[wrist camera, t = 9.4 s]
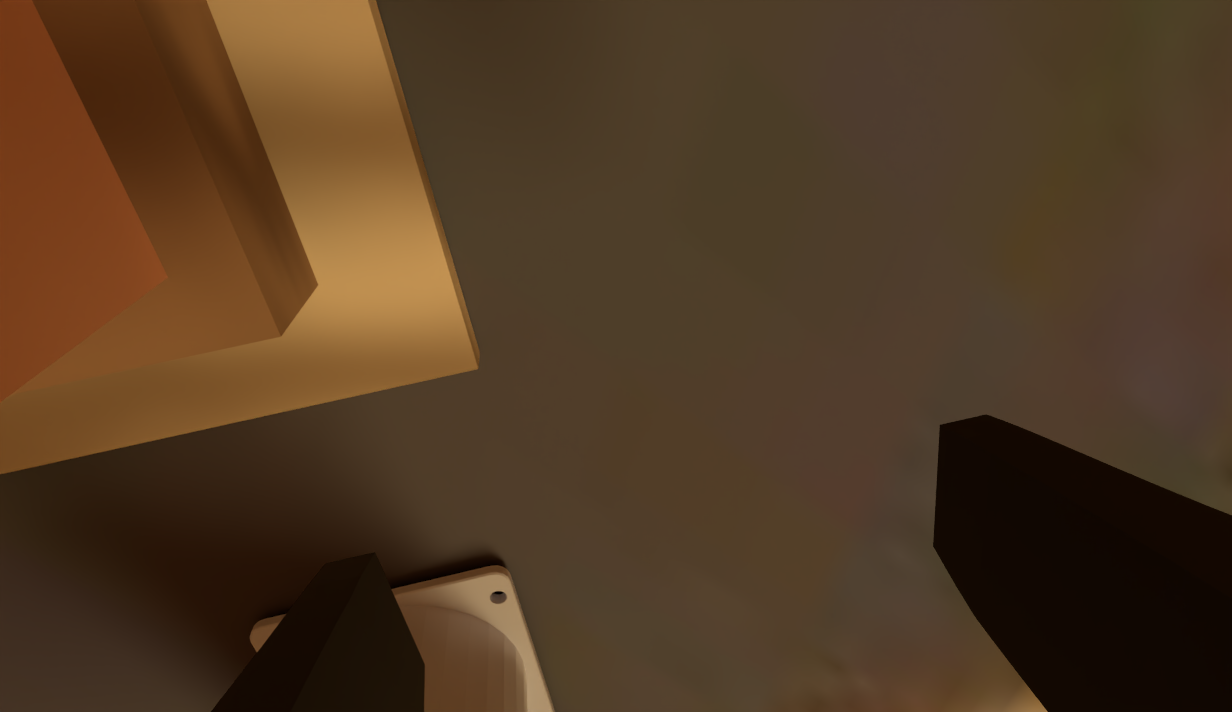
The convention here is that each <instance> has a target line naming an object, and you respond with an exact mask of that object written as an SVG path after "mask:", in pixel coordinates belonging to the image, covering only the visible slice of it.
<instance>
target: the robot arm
mask: <svg viewBox="0 0 1232 712" xmlns="http://www.w3.org/2000/svg"><path fill="white" fill-rule="evenodd" d="M933 547H934V548H935V550H936V552H937V554H938V555H939V557H940V559H941V561H942V562H943V564H944V566H945V568H946V569H947V571H948V573H949V574H950V576H951V578H952V580H953V581H954V583H955V585H956V587H957V588H958V590H959V591H960V593H961V595H962V596H963V598H964V600H965V601H966V603H967V604H968V606H969V608H970V609H971V611H972V612H973V614H974V616H975V617H976V619H977V620H978V621H979V623H980V624H981V625H982V627H983V628H984V629H985V631H986V632H987V633H988V635H989V636H990V637H991V639H992V640H993V641H994V643H995V644H996V645H997V647H998V648H999V649H1000V650H1001V652H1002V653H1003V654H1004V656H1005V657H1006V658H1007V660H1008V661H1009V662H1010V663H1011V665H1012V666H1013V667H1014V669H1015V670H1016V671H1017V673H1018V674H1019V675H1020V677H1021V678H1022V679H1023V680H1024V682H1025V683H1026V684H1027V686H1028V687H1029V688H1030V689H1031V691H1032V692H1033V693H1034V694H1035V696H1036V697H1037V698H1038V700H1039V701H1040V702H1041V703H1042V705H1043V706H1044V707H1045V709H1046V710H1047V711H1048V712H1232V515H1229V514H1227V513H1224V512H1222V511H1219V510H1216V509H1214V508H1211V507H1209V506H1206V505H1204V504H1201V503H1199V502H1197V501H1194V500H1192V499H1189V498H1187V497H1184V496H1182V495H1179V494H1177V493H1175V492H1172V491H1170V490H1167V489H1165V488H1162V487H1160V486H1158V485H1155V484H1153V483H1150V482H1148V481H1146V480H1143V479H1141V478H1139V477H1136V476H1134V475H1132V474H1129V473H1127V472H1124V471H1122V470H1120V469H1117V468H1115V467H1113V466H1110V465H1108V464H1106V463H1103V462H1101V461H1099V460H1096V459H1094V458H1092V457H1089V456H1087V455H1085V454H1082V453H1080V452H1078V451H1075V450H1073V449H1071V448H1068V447H1066V446H1064V445H1061V444H1059V443H1057V442H1054V441H1052V440H1050V439H1047V438H1045V437H1042V436H1040V435H1038V434H1035V433H1033V432H1030V431H1028V430H1026V429H1023V428H1021V427H1018V426H1016V425H1013V424H1011V423H1008V422H1005V421H1003V420H1000V419H997V418H995V417H992V416H989V415H982V416H977V417H973V418H969V419H964V420H960V421H955V422H951V423H946V424H942V425H940V433H939V451H938V470H937V488H936V506H935V524H934V542H933ZM496 591H502V592H504V593H502V594H497V595H496V594H494V593H493V592H496ZM249 638H250V642H251V644H252V645H253V647H254V649H255V650H256V652H257V653H256V655H255V656H254V657H253V658H252V660H251V661H250V662H249V664H248V665H247V666H246V667H245V669H244V670H243V671H242V673H241V674H240V675H239V676H238V678H237V679H236V680H235V682H234V683H233V684H232V685H231V687H230V688H229V689H228V691H227V692H226V693H225V694H224V696H223V697H222V698H221V700H220V701H219V702H218V703H217V705H216V706H215V707H214V709H213V710H212V711H211V712H555V710H554V707H553V704H552V701H551V698H550V695H549V691H548V688H547V685H546V682H545V679H544V676H543V673H542V670H541V667H540V664H539V661H538V658H537V655H536V652H535V648H534V645H533V642H532V639H531V636H530V633H529V630H528V627H527V624H526V621H525V618H524V615H523V612H522V609H521V605H520V602H519V599H518V596H517V593H516V590H515V587H514V584H513V581H512V578H511V575H510V573H509V571H508V570H507V569H506V568H504V567H502V566H498V565H494V566H487V567H483V568H479V569H475V570H470V571H466V572H462V573H458V574H453V575H449V576H445V577H441V578H436V579H432V580H428V581H424V582H419V583H415V584H411V585H407V586H402V587H398V588H394V589H391V587H390V585H389V583H388V580H387V578H386V576H385V574H384V571H383V569H382V567H381V565H380V562H379V560H378V558H377V556H376V553H375V552H374V553H370V554H366V555H361V556H357V557H352V558H348V559H343V560H339V561H334V562H330V563H326V564H325V565H324V566H323V567H322V569H321V570H320V571H319V572H318V574H317V575H316V576H315V577H314V578H313V580H312V581H311V582H310V584H309V585H308V586H307V587H306V589H305V590H304V591H303V593H302V594H301V595H300V597H299V598H298V599H297V600H296V602H295V603H294V604H293V606H292V607H291V608H290V610H289V611H288V612H287V614H283V615H279V616H275V617H271V618H266V619H263V620H260V621H258V622H257V623H256V624H255V625H254V627H253V629H252V631H251V634H250V637H249Z"/></svg>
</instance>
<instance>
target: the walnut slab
mask: <svg viewBox="0 0 1232 712" xmlns="http://www.w3.org/2000/svg"><path fill="white" fill-rule="evenodd" d="M32 1H33V3H34V5H35V7H36V9H37V11H38V14H39V16H40V18H41V20H42V22H43V24H44V26H45V28H46V30H47V32H48V34H49V36H50V38H51V40H52V42H53V44H54V46H55V48H56V50H57V52H58V54H59V56H60V58H61V60H62V62H63V64H64V66H65V68H66V71H67V73H68V75H69V77H70V79H71V81H72V83H73V85H74V87H75V89H76V91H77V93H78V95H79V97H80V99H81V101H82V103H83V105H84V107H85V109H86V111H87V113H88V115H89V117H90V119H91V121H92V123H93V125H94V128H95V130H96V132H97V134H98V136H99V138H100V140H101V142H102V144H103V146H104V148H105V150H106V152H107V154H108V156H109V158H110V160H111V162H112V164H113V166H114V168H115V170H116V172H117V174H118V176H119V178H120V180H121V183H122V185H123V187H124V189H125V191H126V193H127V195H128V197H129V199H130V201H131V203H132V205H133V207H134V209H135V211H136V213H137V215H138V217H139V219H140V221H141V223H142V225H143V227H144V229H145V231H146V233H147V235H148V237H149V240H150V242H151V244H152V246H153V248H154V250H155V252H156V254H157V256H158V258H159V260H160V262H161V264H162V266H163V268H164V270H165V272H166V274H167V276H168V278H167V279H165V280H164V281H163V282H161V283H160V284H158V285H157V286H156V287H154V288H153V289H152V290H150V291H149V292H148V293H146V294H145V295H144V296H142V297H141V298H140V299H138V300H137V301H136V302H134V303H133V304H132V305H130V306H129V307H128V308H126V309H125V310H124V311H122V312H121V313H120V314H118V315H117V316H116V317H114V318H113V319H112V320H110V321H109V322H107V323H106V324H105V325H103V326H102V327H101V328H99V329H98V330H97V331H95V332H94V333H93V334H91V335H90V336H89V337H87V338H86V339H85V340H83V341H82V342H81V343H79V344H78V345H77V346H75V347H74V348H73V349H71V350H70V351H69V352H67V353H66V354H65V355H63V356H62V357H61V358H59V359H58V360H56V361H55V362H54V363H52V364H51V365H50V366H48V367H47V368H46V369H44V370H43V371H42V372H40V373H39V374H38V375H36V376H35V377H34V378H32V379H31V380H30V381H28V382H27V383H26V384H24V385H23V386H22V387H20V388H19V389H18V390H16V391H15V392H14V393H12V394H17V393H22V392H26V391H31V390H36V389H40V388H45V387H50V386H54V385H59V384H64V383H68V382H73V381H78V380H82V379H87V378H91V377H96V376H101V375H105V374H110V373H115V372H119V371H124V370H129V369H133V368H138V367H143V366H147V365H152V364H157V363H161V362H166V361H170V360H175V359H180V358H184V357H189V356H194V355H198V354H203V353H208V352H212V351H217V350H222V349H226V348H231V347H236V346H240V345H245V344H249V343H254V342H259V341H263V340H268V339H273V338H277V337H281V336H282V335H283V333H284V332H285V331H286V329H287V328H288V326H289V325H290V324H291V322H292V321H293V320H294V318H295V317H296V315H297V314H298V313H299V311H300V310H301V308H302V307H303V306H304V304H305V303H306V302H307V300H308V299H309V297H310V296H311V295H312V293H313V292H314V291H315V289H316V288H317V286H318V283H317V280H316V278H315V275H314V273H313V270H312V268H311V265H310V262H309V260H308V257H307V255H306V252H305V250H304V247H303V245H302V242H301V240H300V237H299V235H298V232H297V229H296V227H295V224H294V222H293V219H292V217H291V214H290V212H289V209H288V207H287V204H286V202H285V199H284V196H283V194H282V191H281V189H280V186H279V184H278V181H277V179H276V176H275V174H274V171H273V169H272V166H271V163H270V161H269V158H268V156H267V153H266V151H265V148H264V146H263V143H262V141H261V138H260V136H259V133H258V130H257V128H256V125H255V123H254V120H253V118H252V115H251V113H250V110H249V108H248V105H247V102H246V100H245V97H244V95H243V92H242V90H241V87H240V85H239V82H238V80H237V77H236V75H235V72H234V69H233V67H232V64H231V62H230V59H229V57H228V54H227V52H226V49H225V47H224V44H223V42H222V39H221V36H220V34H219V31H218V29H217V26H216V24H215V21H214V19H213V16H212V14H211V11H210V9H209V6H208V3H207V1H206V0H32ZM12 394H11V395H12Z"/></svg>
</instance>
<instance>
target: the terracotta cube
mask: <svg viewBox="0 0 1232 712" xmlns="http://www.w3.org/2000/svg"><path fill="white" fill-rule="evenodd" d="M167 278H168V276H167V274H166V272H165V270H164V268H163V266H162V264H161V262H160V260H159V258H158V256H157V254H156V252H155V250H154V248H153V246H152V244H151V242H150V240H149V237H148V235H147V233H146V231H145V229H144V227H143V225H142V223H141V221H140V219H139V217H138V215H137V213H136V211H135V209H134V207H133V205H132V203H131V201H130V199H129V197H128V195H127V193H126V191H125V189H124V187H123V185H122V183H121V180H120V178H119V176H118V174H117V172H116V170H115V168H114V166H113V164H112V162H111V160H110V158H109V156H108V154H107V152H106V150H105V148H104V146H103V144H102V142H101V140H100V138H99V136H98V134H97V132H96V130H95V128H94V125H93V123H92V121H91V119H90V117H89V115H88V113H87V111H86V109H85V107H84V105H83V103H82V101H81V99H80V97H79V95H78V93H77V91H76V89H75V87H74V85H73V83H72V81H71V79H70V77H69V75H68V73H67V71H66V68H65V66H64V64H63V62H62V60H61V58H60V56H59V54H58V52H57V50H56V48H55V46H54V44H53V42H52V40H51V38H50V36H49V34H48V32H47V30H46V28H45V26H44V24H43V22H42V20H41V18H40V16H39V14H38V11H37V9H36V7H35V5H34V3H33V1H32V0H0V402H1V401H3V400H4V399H5V398H7V397H8V396H10V395H11V394H12V393H14V392H15V391H16V390H18V389H19V388H20V387H22V386H23V385H24V384H26V383H27V382H28V381H30V380H31V379H32V378H34V377H35V376H36V375H38V374H39V373H40V372H42V371H43V370H44V369H46V368H47V367H48V366H50V365H51V364H52V363H54V362H55V361H56V360H58V359H59V358H61V357H62V356H63V355H65V354H66V353H67V352H69V351H70V350H71V349H73V348H74V347H75V346H77V345H78V344H79V343H81V342H82V341H83V340H85V339H86V338H87V337H89V336H90V335H91V334H93V333H94V332H95V331H97V330H98V329H99V328H101V327H102V326H103V325H105V324H106V323H107V322H109V321H110V320H112V319H113V318H114V317H116V316H117V315H118V314H120V313H121V312H122V311H124V310H125V309H126V308H128V307H129V306H130V305H132V304H133V303H134V302H136V301H137V300H138V299H140V298H141V297H142V296H144V295H145V294H146V293H148V292H149V291H150V290H152V289H153V288H154V287H156V286H157V285H158V284H160V283H161V282H163V281H164V280H165V279H167Z"/></svg>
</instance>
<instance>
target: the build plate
mask: <svg viewBox="0 0 1232 712" xmlns="http://www.w3.org/2000/svg"><path fill="white" fill-rule="evenodd" d="M206 1H207V3H208V6H209V9H210V11H211V14H212V16H213V19H214V21H215V24H216V26H217V29H218V31H219V34H220V36H221V39H222V42H223V44H224V47H225V49H226V52H227V54H228V57H229V59H230V62H231V64H232V67H233V69H234V72H235V75H236V77H237V80H238V82H239V85H240V87H241V90H242V92H243V95H244V97H245V100H246V102H247V105H248V108H249V110H250V113H251V115H252V118H253V120H254V123H255V125H256V128H257V130H258V133H259V136H260V138H261V141H262V143H263V146H264V148H265V151H266V153H267V156H268V158H269V161H270V163H271V166H272V169H273V171H274V174H275V176H276V179H277V181H278V184H279V186H280V189H281V191H282V194H283V196H284V199H285V202H286V204H287V207H288V209H289V212H290V214H291V217H292V219H293V222H294V224H295V227H296V229H297V232H298V235H299V237H300V240H301V242H302V245H303V247H304V250H305V252H306V255H307V257H308V260H309V262H310V265H311V268H312V270H313V273H314V275H315V278H316V280H317V283H318V286H317V288H316V289H315V291H314V292H313V293H312V295H311V296H310V297H309V299H308V300H307V302H306V303H305V304H304V306H303V307H302V308H301V310H300V311H299V313H298V314H297V315H296V317H295V318H294V320H293V321H292V322H291V324H290V325H289V326H288V328H287V329H286V331H285V332H284V333H283V335H282V336H281V337H277V338H273V339H268V340H263V341H259V342H254V343H249V344H245V345H240V346H236V347H231V348H226V349H222V350H217V351H212V352H208V353H203V354H198V355H194V356H189V357H184V358H180V359H175V360H170V361H166V362H161V363H157V364H152V365H147V366H143V367H138V368H133V369H129V370H124V371H119V372H115V373H110V374H105V375H101V376H96V377H91V378H87V379H82V380H78V381H73V382H68V383H64V384H59V385H54V386H50V387H45V388H40V389H36V390H31V391H26V392H22V393H17V394H12V395H10V396H8V397H7V398H5V399H4V400H3V401H1V402H0V474H4V473H9V472H13V471H18V470H22V469H27V468H31V467H36V466H40V465H45V464H49V463H54V462H59V461H63V460H68V459H72V458H77V457H81V456H86V455H90V454H95V453H99V452H104V451H108V450H113V449H117V448H122V447H126V446H131V445H136V444H140V443H145V442H149V441H154V440H158V439H163V438H167V437H172V436H176V435H181V434H185V433H190V432H194V431H199V430H204V429H208V428H213V427H217V426H222V425H226V424H231V423H235V422H240V421H244V420H249V419H253V418H258V417H262V416H267V415H272V414H276V413H281V412H285V411H290V410H294V409H299V408H303V407H308V406H312V405H317V404H321V403H326V402H330V401H335V400H339V399H344V398H349V397H353V396H358V395H362V394H367V393H371V392H376V391H380V390H385V389H389V388H394V387H398V386H403V385H407V384H412V383H417V382H421V381H426V380H430V379H435V378H439V377H444V376H448V375H453V374H457V373H462V372H466V371H471V370H475V369H478V367H479V354H480V352H479V348H478V345H477V342H476V338H475V335H474V331H473V328H472V325H471V321H470V318H469V314H468V311H467V308H466V304H465V301H464V297H463V294H462V291H461V287H460V284H459V281H458V277H457V274H456V270H455V267H454V264H453V260H452V257H451V253H450V250H449V247H448V243H447V240H446V236H445V233H444V230H443V226H442V223H441V220H440V216H439V213H438V209H437V206H436V203H435V199H434V196H433V192H432V189H431V186H430V182H429V179H428V176H427V172H426V169H425V165H424V162H423V159H422V155H421V152H420V148H419V145H418V142H417V138H416V135H415V131H414V128H413V125H412V121H411V118H410V115H409V111H408V108H407V104H406V101H405V98H404V94H403V91H402V87H401V84H400V81H399V77H398V74H397V70H396V67H395V64H394V60H393V57H392V54H391V50H390V47H389V43H388V40H387V37H386V33H385V30H384V26H383V23H382V20H381V16H380V13H379V9H378V6H377V3H376V0H206Z"/></svg>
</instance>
